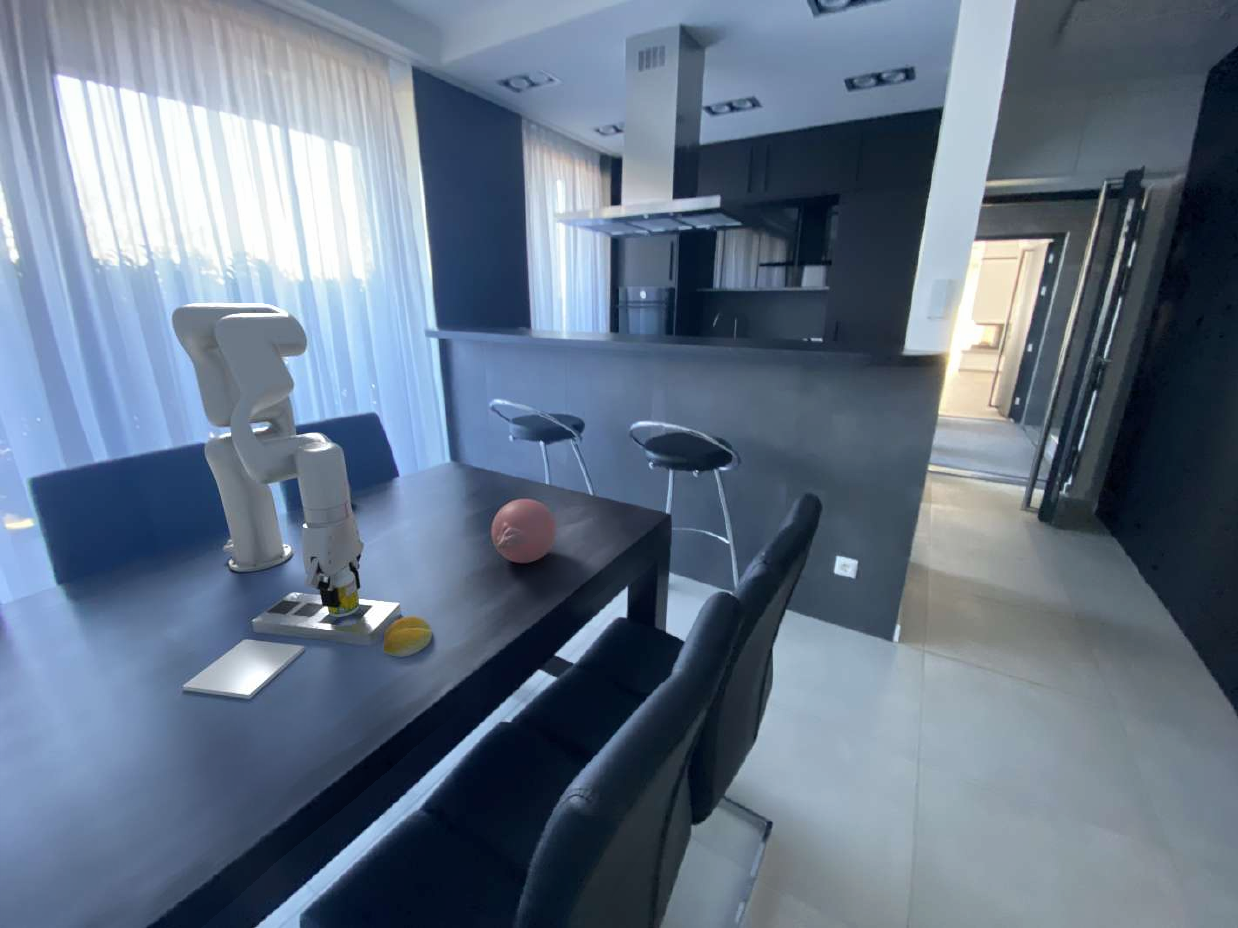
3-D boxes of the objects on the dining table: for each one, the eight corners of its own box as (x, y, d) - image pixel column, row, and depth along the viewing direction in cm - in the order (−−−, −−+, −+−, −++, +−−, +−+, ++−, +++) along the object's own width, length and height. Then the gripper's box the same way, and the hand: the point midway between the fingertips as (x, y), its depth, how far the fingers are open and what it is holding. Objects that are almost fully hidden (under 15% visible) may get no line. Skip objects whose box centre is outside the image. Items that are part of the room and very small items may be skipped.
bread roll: (383, 663, 89) (380, 644, 88) (386, 633, 97) (383, 615, 96) (432, 653, 92) (430, 634, 90) (431, 624, 100) (429, 607, 98)
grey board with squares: (254, 632, 96) (251, 620, 95) (293, 602, 106) (291, 591, 105) (371, 645, 93) (369, 633, 92) (401, 613, 102) (399, 602, 102)
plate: (183, 689, 82) (182, 685, 82) (245, 642, 93) (244, 639, 93) (249, 698, 80) (248, 694, 80) (304, 649, 92) (304, 646, 91)
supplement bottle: (365, 604, 100) (359, 561, 97) (344, 620, 95) (337, 575, 92) (344, 599, 101) (337, 556, 98) (321, 614, 97) (313, 570, 93)
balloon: (469, 577, 116) (463, 516, 111) (514, 540, 134) (511, 486, 129) (528, 590, 111) (525, 526, 107) (567, 550, 129) (566, 494, 125)
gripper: (340, 491, 100) (352, 571, 106) (272, 529, 84) (291, 621, 90) (375, 494, 99) (386, 575, 105) (313, 533, 83) (329, 626, 89)
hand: (342, 596), depth 97 cm, fingers closed on supplement bottle, 5 cm apart
